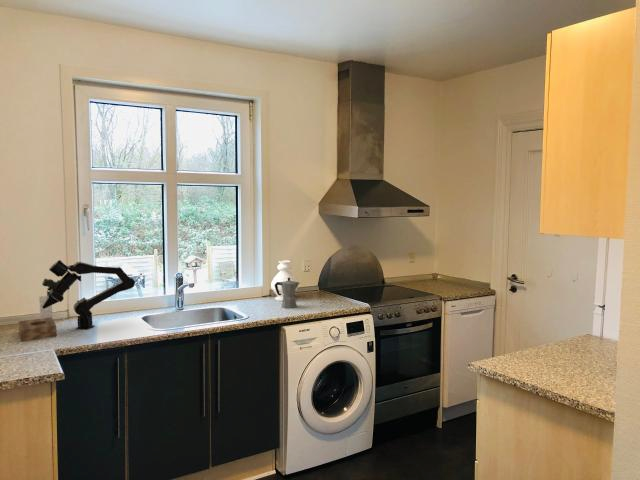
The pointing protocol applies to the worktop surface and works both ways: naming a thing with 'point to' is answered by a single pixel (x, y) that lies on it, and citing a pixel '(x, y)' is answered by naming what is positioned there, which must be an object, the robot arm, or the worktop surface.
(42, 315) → the aluminium bar
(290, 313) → the worktop surface
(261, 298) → the worktop surface
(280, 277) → the decorative vase
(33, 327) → the walnut pocket block
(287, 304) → the coffeepot
